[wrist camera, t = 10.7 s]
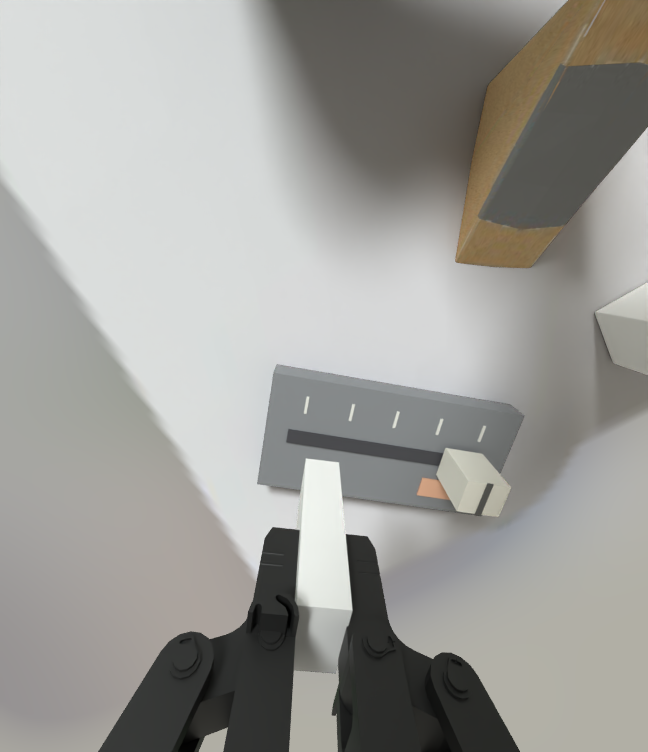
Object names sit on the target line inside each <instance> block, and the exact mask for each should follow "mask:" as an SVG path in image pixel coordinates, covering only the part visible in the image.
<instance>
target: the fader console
mask: <svg viewBox="0 0 648 752" xmlns="http://www.w3.org/2000/svg"><path fill="white" fill-rule="evenodd" d="M523 418H524V415H523V414H522V413H520V412H519V411H518V410H516V409H515V408H514V407H512V406H511V405H509V404H503V403H498V402H492V401H486V400H480V399H475V398H469V397H463V396H457V395H451V394H446V393H440V392H434V391H428V390H422V389H417V388H411V387H405V386H399V385H393V384H388V383H382V382H376V381H370V380H365V379H359V378H353V377H347V376H341V375H336V374H330V373H324V372H318V371H312V370H307V369H301V368H295V367H289V366H283V365H278V364H277V365H276V368H275V370H274V374H273V380H272V387H271V394H270V401H269V407H268V414H267V421H266V428H265V434H264V441H263V448H262V455H261V462H260V468H259V475H258V482H257V484H261V485H268V486H275V487H282V488H289V489H296V490H301V486H302V480H303V473H304V467H305V461H306V458H307V459H315V460H323V461H331V462H339V468H340V479H341V490H342V496H345V497H352V498H359V499H366V500H373V501H380V502H387V503H394V504H401V505H408V506H415V507H422V508H429V509H436V510H443V511H450V512H457V513H464V514H471V515H475V514H472V513H465V512H458V511H456V509H455V507H454V506H453V504H452V502H451V500H450V498H449V497H448V495H447V493H446V491H445V489H444V488H443V486H442V484H441V482H440V481H439V479H438V477H437V475H436V474H437V471H438V468H439V465H440V462H441V459H442V456H443V454H444V451H445V448H450V449H456V450H462V451H469V452H475V453H481V454H483V455H484V456H485V457H486V458H487V460H488V461H489V462H490V463H491V464H492V465H493V467H494V468H495V469H496V470H497V471H498V472H499V474H500V473H501V470H502V468H503V466H504V463H505V461H506V459H507V456H508V454H509V451H510V449H511V447H512V444H513V442H514V440H515V437H516V435H517V433H518V430H519V428H520V425H521V423H522V421H523ZM481 516H482V515H481Z"/></svg>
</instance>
